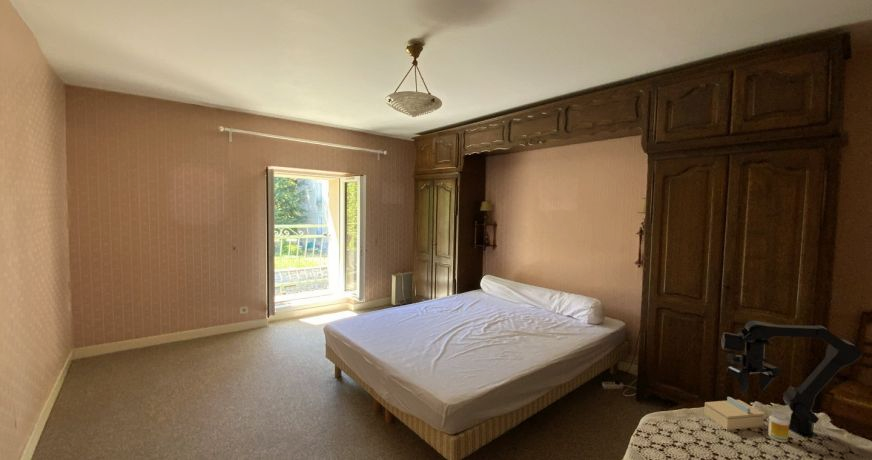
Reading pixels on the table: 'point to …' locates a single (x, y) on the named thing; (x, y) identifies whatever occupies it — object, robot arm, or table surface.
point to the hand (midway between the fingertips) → (752, 391)
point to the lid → (734, 408)
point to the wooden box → (733, 420)
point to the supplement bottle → (778, 426)
